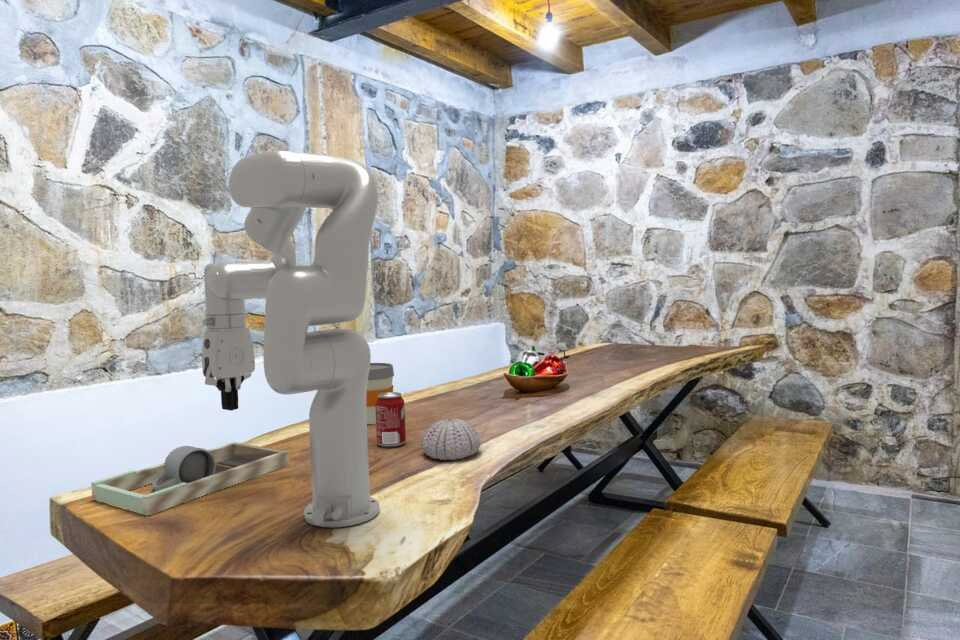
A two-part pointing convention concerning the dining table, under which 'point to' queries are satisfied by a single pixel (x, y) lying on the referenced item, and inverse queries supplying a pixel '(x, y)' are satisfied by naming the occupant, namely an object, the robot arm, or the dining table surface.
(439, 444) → the sea urchin shell
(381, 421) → the soda can
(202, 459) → the ceramic mug
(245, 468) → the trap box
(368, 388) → the reusable coffee cup
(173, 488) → the shallow mint tray
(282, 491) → the dining table surface
